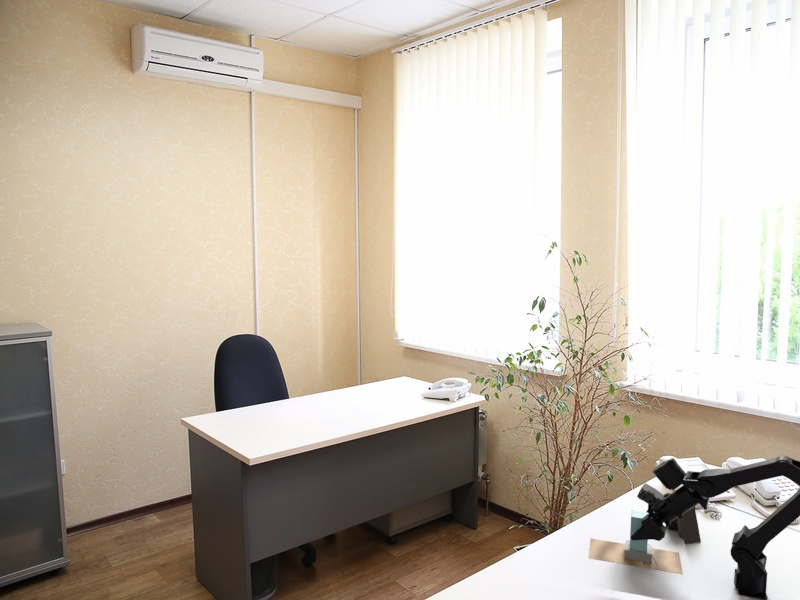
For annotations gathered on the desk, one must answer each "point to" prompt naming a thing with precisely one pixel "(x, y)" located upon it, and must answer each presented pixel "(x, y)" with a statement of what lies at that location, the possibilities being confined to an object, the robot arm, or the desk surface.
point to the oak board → (617, 555)
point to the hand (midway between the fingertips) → (634, 531)
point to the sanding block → (638, 541)
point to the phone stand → (686, 527)
